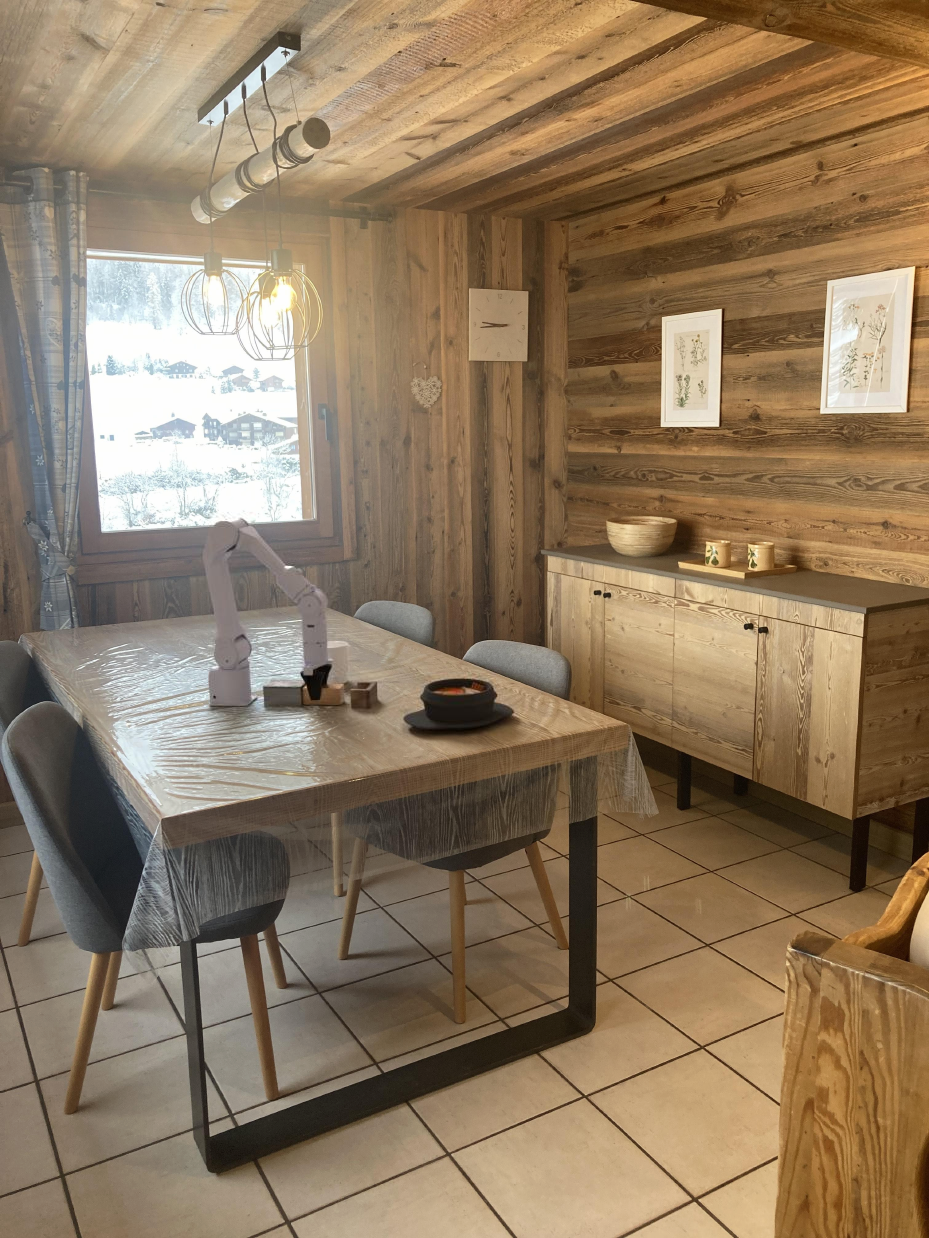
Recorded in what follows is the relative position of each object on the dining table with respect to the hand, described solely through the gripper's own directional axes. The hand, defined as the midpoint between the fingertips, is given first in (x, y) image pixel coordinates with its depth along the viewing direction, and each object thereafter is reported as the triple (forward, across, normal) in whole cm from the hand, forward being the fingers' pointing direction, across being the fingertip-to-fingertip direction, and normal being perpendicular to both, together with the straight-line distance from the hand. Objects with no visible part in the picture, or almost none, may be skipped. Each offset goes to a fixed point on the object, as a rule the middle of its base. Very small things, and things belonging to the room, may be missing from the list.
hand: (317, 697), depth 233 cm
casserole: (+2, -14, -36) cm, 38 cm away
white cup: (+2, +20, +1) cm, 20 cm away
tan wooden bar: (+1, 0, +2) cm, 2 cm away
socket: (+1, 0, -11) cm, 11 cm away
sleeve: (+1, 0, +8) cm, 8 cm away
